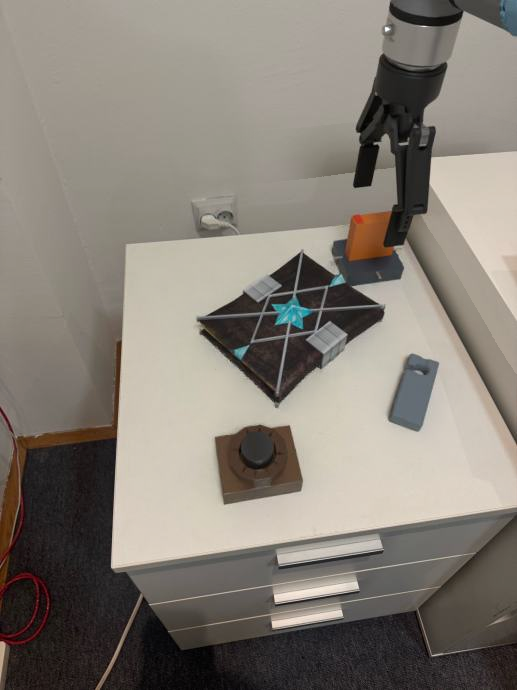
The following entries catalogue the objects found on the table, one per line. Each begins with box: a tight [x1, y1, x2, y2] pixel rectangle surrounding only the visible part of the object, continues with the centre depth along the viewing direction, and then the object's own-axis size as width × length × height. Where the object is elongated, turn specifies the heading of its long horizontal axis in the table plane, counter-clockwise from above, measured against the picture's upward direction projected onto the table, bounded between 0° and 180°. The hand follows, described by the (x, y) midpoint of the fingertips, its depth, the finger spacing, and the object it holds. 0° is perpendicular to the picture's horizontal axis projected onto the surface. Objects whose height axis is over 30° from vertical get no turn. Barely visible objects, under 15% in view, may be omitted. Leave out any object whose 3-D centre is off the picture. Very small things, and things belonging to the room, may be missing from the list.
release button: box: [241, 431, 274, 468], centre depth 53 cm, size 4×4×2 cm
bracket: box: [388, 352, 440, 432], centre depth 63 cm, size 4×10×2 cm, turn 156°
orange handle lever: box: [345, 210, 395, 261], centre depth 74 cm, size 7×2×7 cm, turn 101°
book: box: [195, 248, 386, 409], centre depth 69 cm, size 22×17×5 cm
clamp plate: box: [331, 238, 405, 287], centre depth 78 cm, size 11×11×3 cm
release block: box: [214, 424, 304, 505], centre depth 56 cm, size 9×7×5 cm
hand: (376, 213), depth 71 cm, fingers open, 13 cm apart
